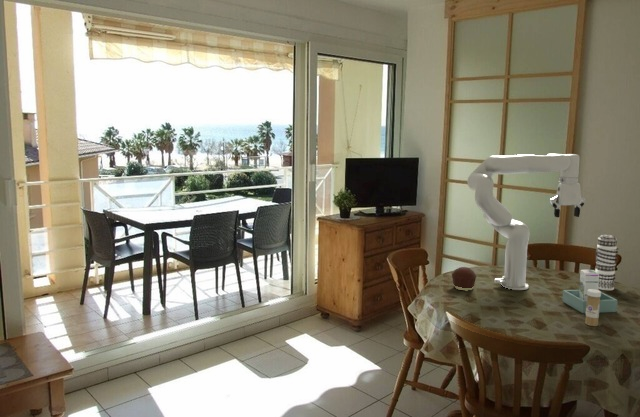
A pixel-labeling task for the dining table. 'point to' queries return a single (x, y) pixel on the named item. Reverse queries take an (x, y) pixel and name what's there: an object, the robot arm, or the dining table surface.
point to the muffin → (464, 277)
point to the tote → (574, 301)
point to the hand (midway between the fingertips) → (566, 216)
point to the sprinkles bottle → (592, 307)
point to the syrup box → (588, 282)
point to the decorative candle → (606, 261)
